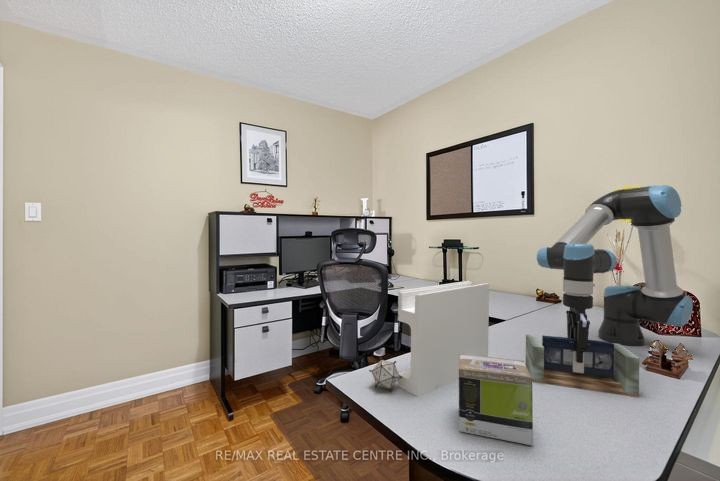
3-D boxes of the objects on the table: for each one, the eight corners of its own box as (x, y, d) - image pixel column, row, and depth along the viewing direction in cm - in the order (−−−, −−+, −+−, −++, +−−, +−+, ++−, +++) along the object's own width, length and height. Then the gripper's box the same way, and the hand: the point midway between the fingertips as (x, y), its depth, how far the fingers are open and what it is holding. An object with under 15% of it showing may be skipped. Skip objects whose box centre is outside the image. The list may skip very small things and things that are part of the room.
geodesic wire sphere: (384, 404, 88) (374, 385, 82) (371, 381, 95) (360, 362, 89) (410, 385, 89) (401, 365, 84) (395, 364, 96) (386, 345, 91)
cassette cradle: (618, 378, 96) (619, 343, 96) (638, 397, 85) (639, 358, 85) (525, 365, 105) (525, 334, 105) (532, 381, 94) (532, 346, 93)
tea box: (524, 420, 74) (525, 359, 74) (533, 448, 64) (534, 378, 64) (458, 408, 79) (459, 351, 79) (457, 432, 69) (458, 367, 69)
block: (418, 396, 84) (418, 295, 84) (397, 385, 91) (398, 290, 90) (488, 365, 106) (489, 283, 105) (467, 357, 112) (468, 280, 111)
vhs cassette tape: (543, 368, 97) (543, 337, 97) (541, 365, 100) (541, 334, 99) (614, 378, 90) (615, 344, 90) (610, 374, 93) (611, 341, 93)
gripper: (602, 299, 86) (601, 383, 86) (583, 290, 101) (582, 361, 101) (571, 297, 88) (569, 379, 89) (556, 288, 103) (555, 358, 103)
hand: (576, 369), depth 95 cm, fingers closed on vhs cassette tape, 2 cm apart
